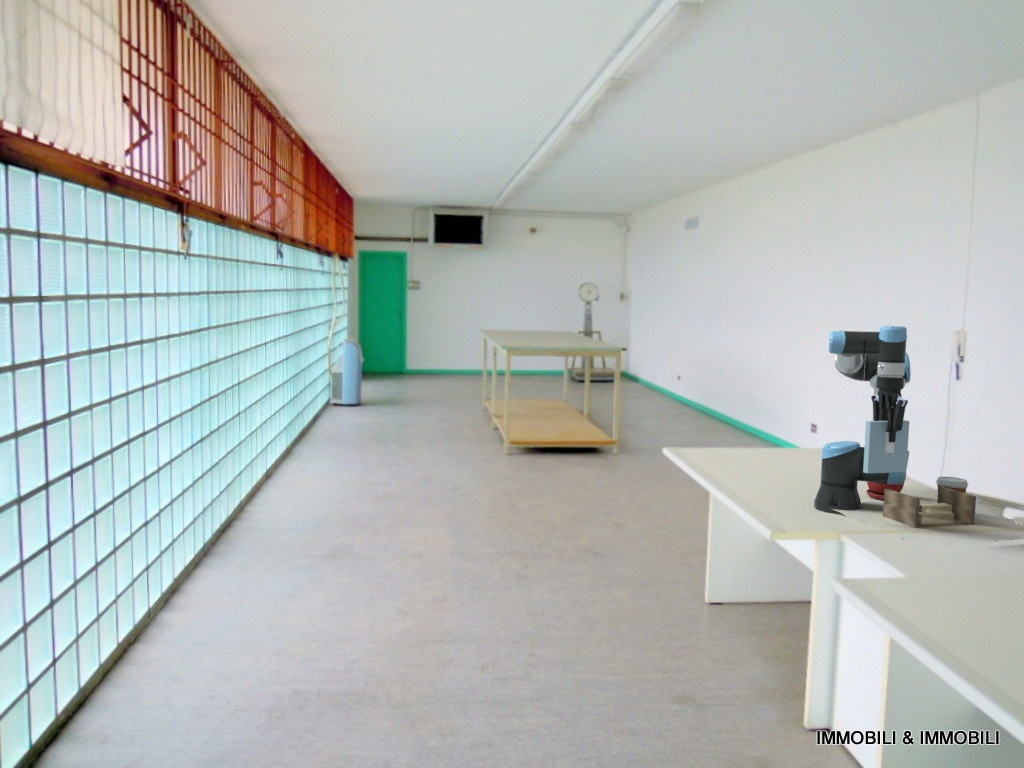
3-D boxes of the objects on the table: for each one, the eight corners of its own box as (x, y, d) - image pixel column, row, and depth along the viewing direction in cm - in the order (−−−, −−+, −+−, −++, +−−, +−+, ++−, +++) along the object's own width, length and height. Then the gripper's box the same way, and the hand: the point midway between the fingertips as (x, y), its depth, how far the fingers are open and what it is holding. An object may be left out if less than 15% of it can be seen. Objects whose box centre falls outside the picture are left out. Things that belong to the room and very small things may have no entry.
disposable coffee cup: (973, 517, 252) (975, 482, 251) (947, 518, 251) (950, 482, 249) (952, 510, 261) (954, 476, 260) (927, 510, 260) (929, 476, 259)
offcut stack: (913, 521, 240) (914, 504, 239) (945, 519, 243) (946, 502, 242) (922, 524, 236) (923, 507, 236) (954, 522, 239) (955, 505, 239)
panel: (863, 472, 235) (866, 421, 233) (901, 470, 238) (904, 420, 237) (867, 473, 233) (870, 422, 231) (906, 471, 236) (909, 421, 235)
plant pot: (864, 499, 275) (866, 467, 274) (865, 492, 287) (866, 461, 285) (905, 504, 269) (907, 470, 268) (903, 496, 281) (905, 464, 280)
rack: (882, 520, 246) (884, 488, 245) (939, 517, 251) (941, 486, 251) (914, 532, 233) (916, 499, 232) (973, 529, 238) (976, 496, 237)
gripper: (863, 374, 239) (859, 447, 241) (897, 378, 225) (893, 456, 227) (883, 374, 241) (879, 447, 243) (919, 378, 226) (914, 455, 228)
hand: (885, 451), depth 235 cm, fingers closed on panel, 2 cm apart
